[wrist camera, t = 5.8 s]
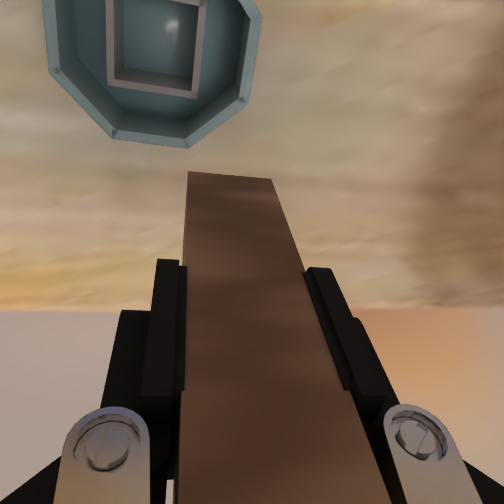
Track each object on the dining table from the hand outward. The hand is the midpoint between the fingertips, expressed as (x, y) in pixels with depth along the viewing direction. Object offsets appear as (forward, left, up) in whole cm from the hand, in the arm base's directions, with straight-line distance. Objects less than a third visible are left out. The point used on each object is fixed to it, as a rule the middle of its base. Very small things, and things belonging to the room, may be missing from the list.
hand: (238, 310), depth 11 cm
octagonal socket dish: (+4, -3, -22) cm, 22 cm away
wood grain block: (0, 0, -6) cm, 6 cm away
